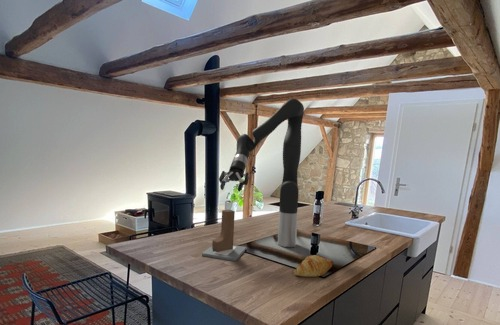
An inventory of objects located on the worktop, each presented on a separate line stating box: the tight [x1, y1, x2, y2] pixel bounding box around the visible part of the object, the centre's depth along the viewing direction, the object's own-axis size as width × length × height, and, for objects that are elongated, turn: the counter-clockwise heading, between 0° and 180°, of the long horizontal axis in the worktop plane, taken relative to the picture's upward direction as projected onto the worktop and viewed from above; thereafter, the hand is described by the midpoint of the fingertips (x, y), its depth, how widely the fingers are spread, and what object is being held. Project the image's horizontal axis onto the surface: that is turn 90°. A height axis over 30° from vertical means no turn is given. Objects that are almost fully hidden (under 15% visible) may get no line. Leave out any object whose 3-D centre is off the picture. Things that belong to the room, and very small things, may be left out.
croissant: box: [293, 254, 334, 278], centre depth 116 cm, size 21×10×8 cm, turn 124°
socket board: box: [201, 244, 247, 262], centre depth 133 cm, size 16×16×1 cm
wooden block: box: [211, 209, 236, 252], centre depth 134 cm, size 9×4×18 cm, turn 127°
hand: (230, 189), depth 136 cm, fingers open, 8 cm apart
